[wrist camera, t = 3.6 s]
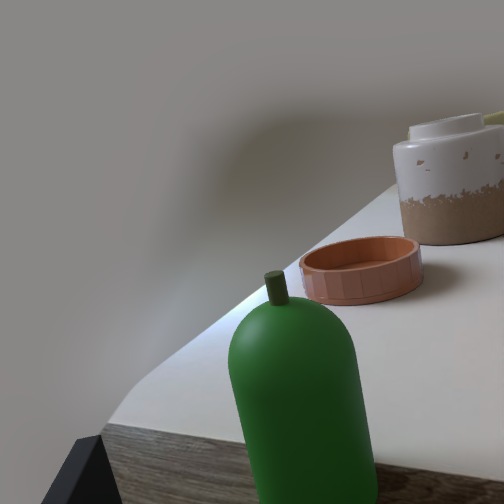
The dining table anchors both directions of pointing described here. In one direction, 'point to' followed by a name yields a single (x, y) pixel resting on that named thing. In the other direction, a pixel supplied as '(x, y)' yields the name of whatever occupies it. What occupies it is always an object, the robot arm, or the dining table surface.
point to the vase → (451, 181)
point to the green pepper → (301, 403)
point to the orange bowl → (362, 270)
